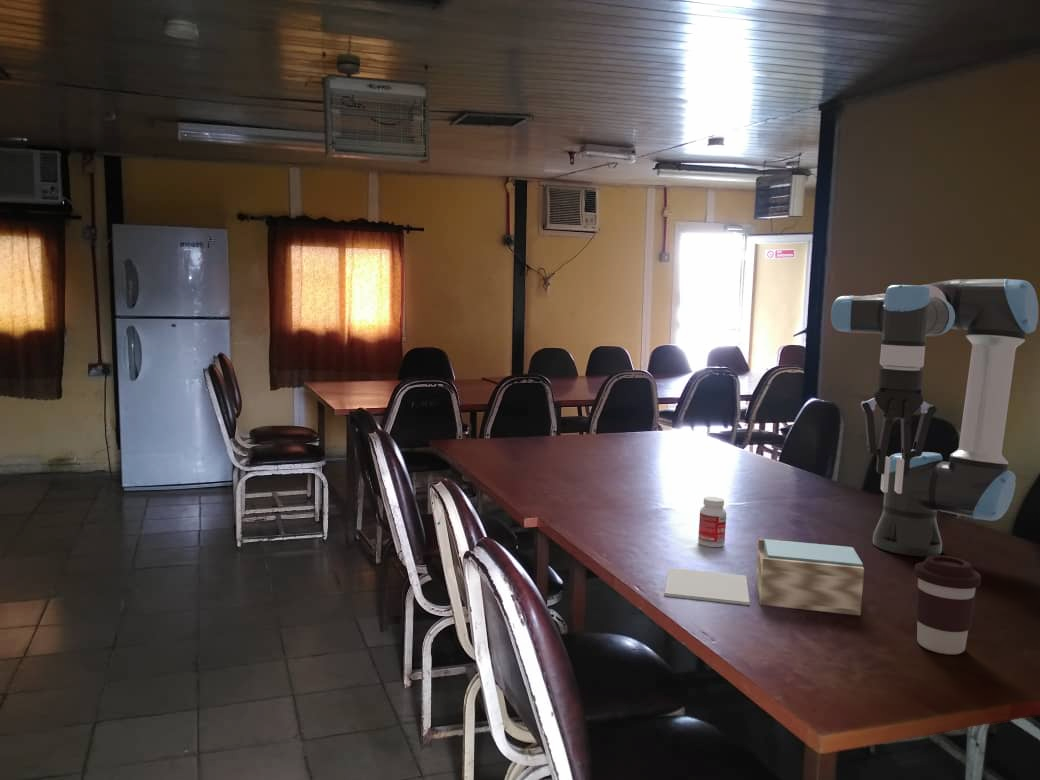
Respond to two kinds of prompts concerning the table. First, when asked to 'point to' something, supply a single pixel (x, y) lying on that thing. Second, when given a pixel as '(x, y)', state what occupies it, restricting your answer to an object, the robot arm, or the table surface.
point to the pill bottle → (712, 523)
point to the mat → (707, 586)
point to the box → (809, 584)
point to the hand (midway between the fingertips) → (890, 491)
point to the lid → (811, 552)
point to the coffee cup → (945, 603)
